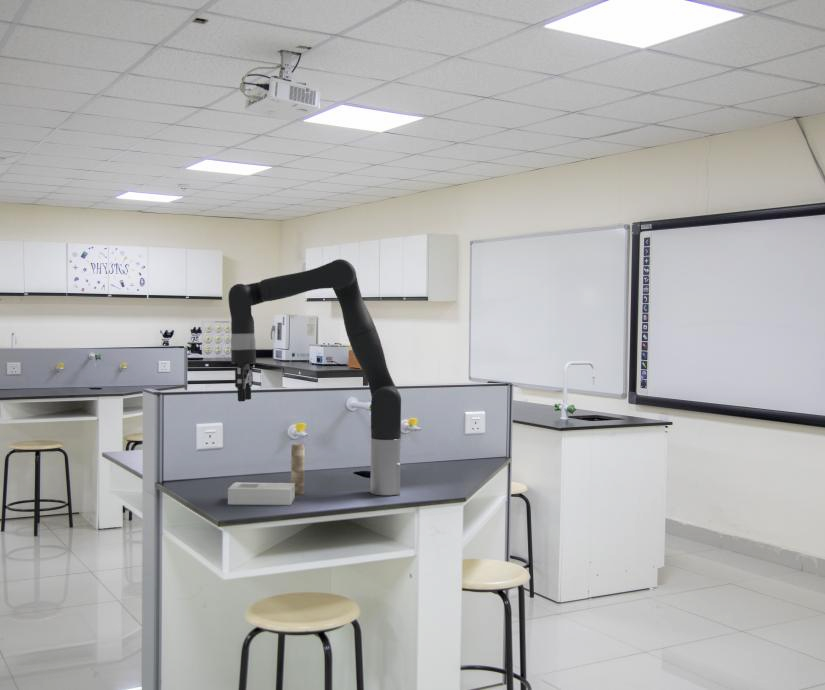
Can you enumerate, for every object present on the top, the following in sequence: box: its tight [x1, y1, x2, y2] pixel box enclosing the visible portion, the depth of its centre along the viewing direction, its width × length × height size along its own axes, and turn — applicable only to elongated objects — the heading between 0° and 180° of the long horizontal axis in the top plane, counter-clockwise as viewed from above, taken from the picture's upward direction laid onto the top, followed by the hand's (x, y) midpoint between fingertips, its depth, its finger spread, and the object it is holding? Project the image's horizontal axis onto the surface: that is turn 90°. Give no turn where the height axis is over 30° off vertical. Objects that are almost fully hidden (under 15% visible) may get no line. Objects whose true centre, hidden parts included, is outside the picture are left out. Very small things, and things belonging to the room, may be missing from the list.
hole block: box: [227, 481, 295, 506], centre depth 248 cm, size 18×10×4 cm, turn 91°
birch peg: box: [290, 443, 306, 496], centre depth 260 cm, size 4×4×15 cm
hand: (244, 400), depth 263 cm, fingers open, 8 cm apart
